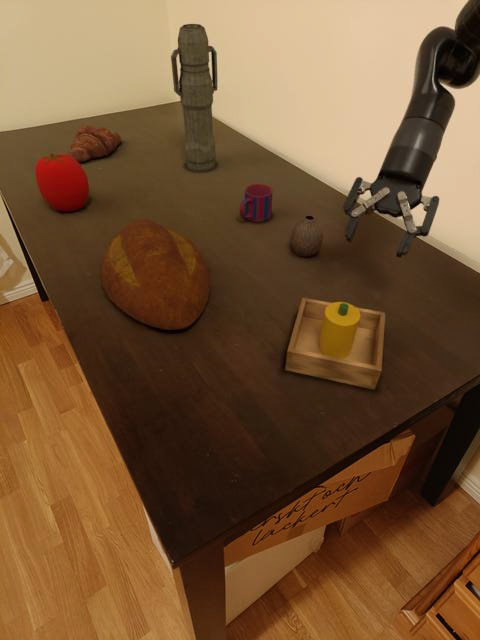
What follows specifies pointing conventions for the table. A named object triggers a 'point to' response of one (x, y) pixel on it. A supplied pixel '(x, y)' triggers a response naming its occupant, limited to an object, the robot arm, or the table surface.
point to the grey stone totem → (196, 94)
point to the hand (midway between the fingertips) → (373, 248)
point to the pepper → (339, 329)
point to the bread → (155, 275)
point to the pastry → (93, 143)
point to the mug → (257, 203)
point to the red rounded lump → (62, 182)
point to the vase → (307, 236)
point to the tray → (353, 369)
